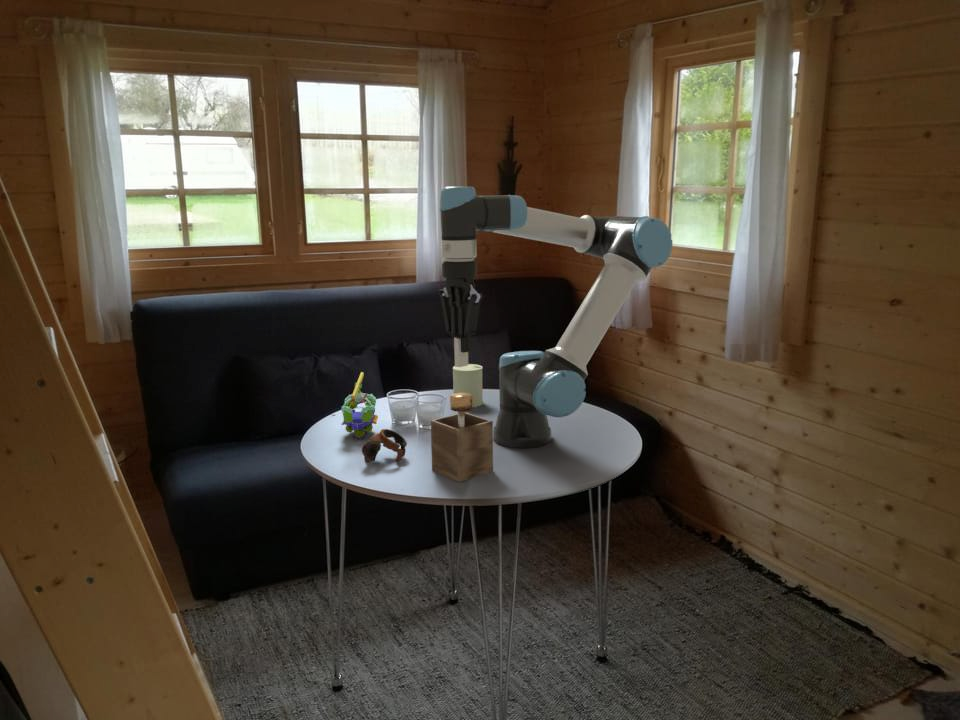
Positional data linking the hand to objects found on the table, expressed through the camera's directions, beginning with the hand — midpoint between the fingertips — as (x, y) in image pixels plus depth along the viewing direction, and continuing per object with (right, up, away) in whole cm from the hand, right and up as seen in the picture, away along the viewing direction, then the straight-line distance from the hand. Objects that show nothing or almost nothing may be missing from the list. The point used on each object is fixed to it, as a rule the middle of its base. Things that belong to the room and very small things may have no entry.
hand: (461, 365), depth 162 cm
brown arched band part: (-20, -23, +13) cm, 33 cm away
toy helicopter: (-28, -19, +31) cm, 46 cm away
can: (+1, -12, +60) cm, 61 cm away
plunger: (0, -23, +5) cm, 23 cm away
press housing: (0, -24, +5) cm, 25 cm away
